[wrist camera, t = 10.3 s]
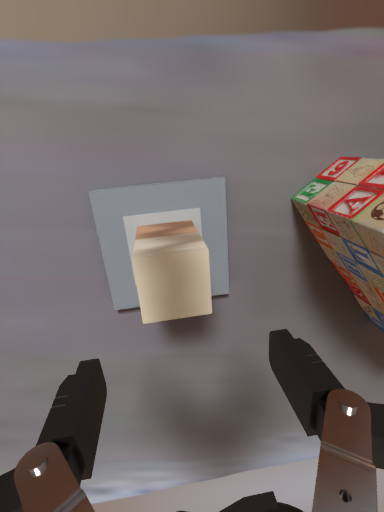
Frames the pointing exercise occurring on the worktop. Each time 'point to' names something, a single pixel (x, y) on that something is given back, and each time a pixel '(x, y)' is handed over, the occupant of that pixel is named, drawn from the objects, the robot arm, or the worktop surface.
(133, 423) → the worktop surface
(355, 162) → the stack of blocks
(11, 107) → the worktop surface
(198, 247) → the cream and brown block
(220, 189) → the base plate
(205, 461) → the worktop surface
